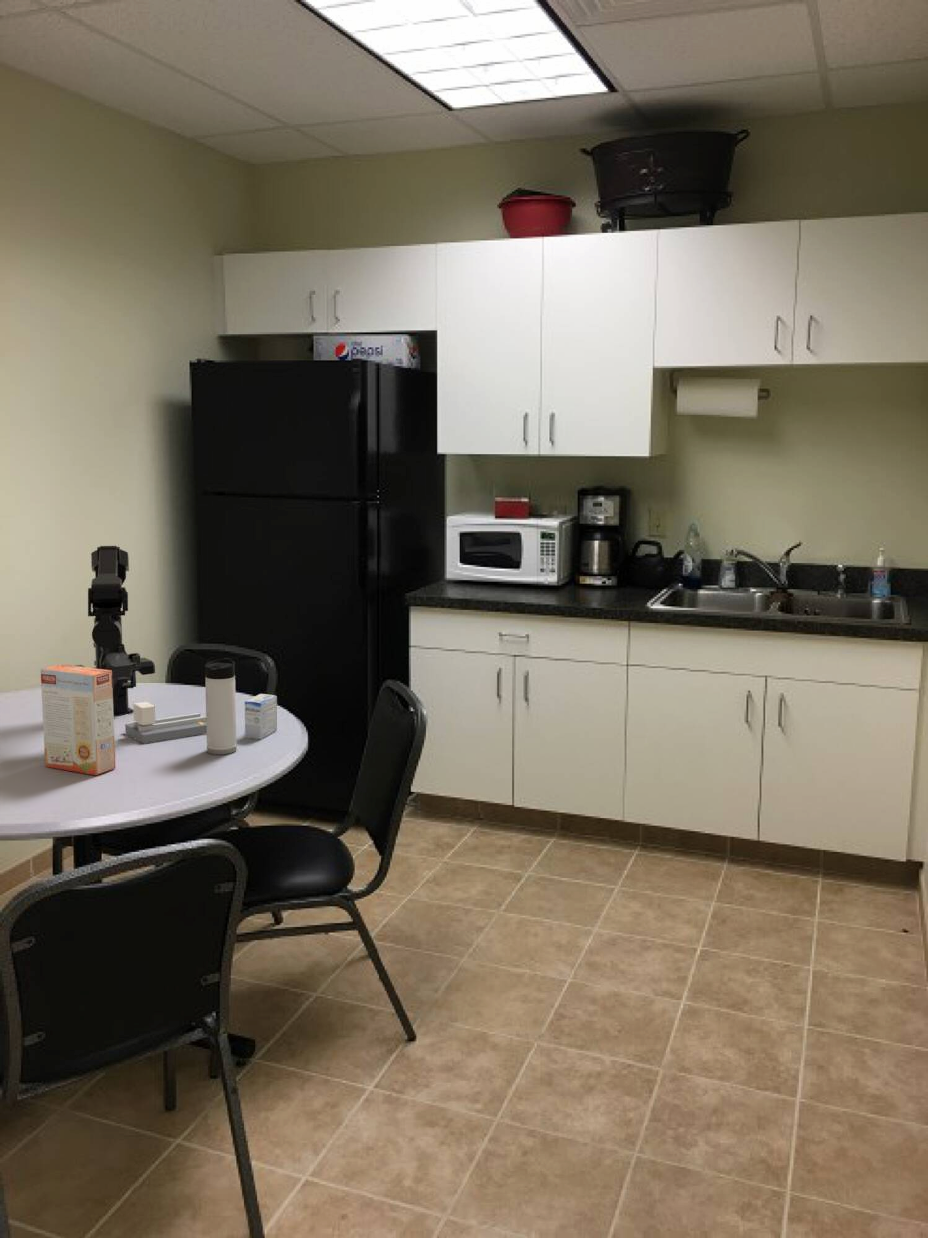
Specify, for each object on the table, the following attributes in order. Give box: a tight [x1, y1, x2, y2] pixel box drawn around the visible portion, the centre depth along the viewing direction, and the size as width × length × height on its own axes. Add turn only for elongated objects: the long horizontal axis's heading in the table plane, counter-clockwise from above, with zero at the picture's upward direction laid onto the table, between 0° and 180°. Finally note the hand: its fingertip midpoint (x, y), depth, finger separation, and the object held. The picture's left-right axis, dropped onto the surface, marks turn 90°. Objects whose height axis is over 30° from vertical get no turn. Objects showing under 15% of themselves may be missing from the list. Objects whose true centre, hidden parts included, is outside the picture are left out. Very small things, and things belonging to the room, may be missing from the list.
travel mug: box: [204, 657, 237, 756], centre depth 232 cm, size 6×7×20 cm
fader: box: [133, 701, 156, 728], centre depth 243 cm, size 5×3×5 cm, turn 38°
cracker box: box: [40, 663, 116, 776], centre depth 218 cm, size 14×6×21 cm, turn 65°
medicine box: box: [244, 693, 278, 740], centre depth 246 cm, size 8×4×9 cm, turn 164°
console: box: [124, 712, 207, 745], centre depth 247 cm, size 11×17×3 cm, turn 128°
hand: (111, 708), depth 238 cm, fingers closed
